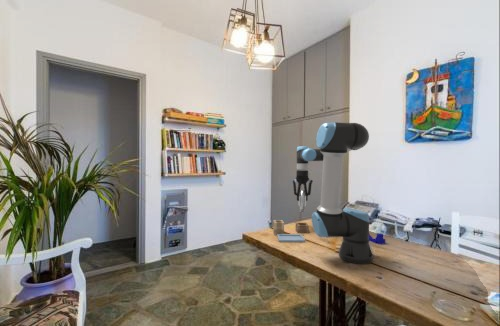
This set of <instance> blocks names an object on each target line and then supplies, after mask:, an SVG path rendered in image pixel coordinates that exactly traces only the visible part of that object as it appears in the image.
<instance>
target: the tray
mask: <svg viewBox="0 0 500 326" xmlns="http://www.w3.org/2000/svg"><path fill="white" fill-rule="evenodd" d="M276 238H277V239H278V243H306V242H307V241H306V239H305V236H303V234H302V233H294V234H293V233H291V234H290V233H289V234H288V233H284V234H277V235H276Z"/></svg>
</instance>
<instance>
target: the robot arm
mask: <svg viewBox="0 0 500 326" xmlns="http://www.w3.org/2000/svg"><path fill="white" fill-rule="evenodd" d="M369 140H370V133H369V130H368V129H367V128H366V127H365V126H364V125H362V124H361V123H357V122H338V121H337V122H335V121H332V122H324V123H322V125H320V126H319V128H318V131H317V133H316V141H315V143H316V147H317V148H309V147H308V146H305V145H304V146H296V147H297V148H296V176H295V179H292V180H291V181H292V184H293V186H292V188H293V194H294V196H296V201H297V205H298V207H300V190H301V187H302V185H303V190H305V196H304V207H306V206H307V201H308V196H311V192H312V184H313V182H314V180H312V179H310V178H309V162H322V175H321V190H320V192H321V193H320V204H319V205H318V206H317V207H316V211H314V212H312V214H311V224H312V228H313V231H314V233H315V234H316V236H317V237H319V238H342V241H341V244H340V247H339V249H338V256H339V258H340V259H342V260H343V261H345V262H349V263H352V264H359V265H366V264H371V263H373V262H374V255H373V251H372V248H371V246H370V241H369V234H370V215H369V214H368V213H367V212H366V211H364V210H361V209H355V208H347V207H346V208H343V209H342V208H341V207H340V205H341V204H340V203H341V191H342V189H341V188H342V180H343V179H342V177H343V175H342V174H343V164H344V156H346V155H347V154H348V153H349V152H351V151H358V150H360V149H362V148H364V147H365V146H366V145H367V144H368V142H369ZM296 182H297V183H296ZM307 183H308V186H307ZM296 184H297V185H296ZM307 187H308V189H307ZM342 211H343V212H342Z"/></svg>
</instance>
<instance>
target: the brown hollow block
mask: <svg viewBox="0 0 500 326" xmlns="http://www.w3.org/2000/svg"><path fill="white" fill-rule="evenodd" d="M309 228H310V226H309V224H307V222H295V231H296V234H309Z"/></svg>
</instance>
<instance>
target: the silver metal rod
mask: <svg viewBox="0 0 500 326" xmlns="http://www.w3.org/2000/svg"><path fill="white" fill-rule="evenodd" d="M299 196H300V206H299V212H300V213H305V206H304V196H305V190H304V189H300V194H299Z"/></svg>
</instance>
